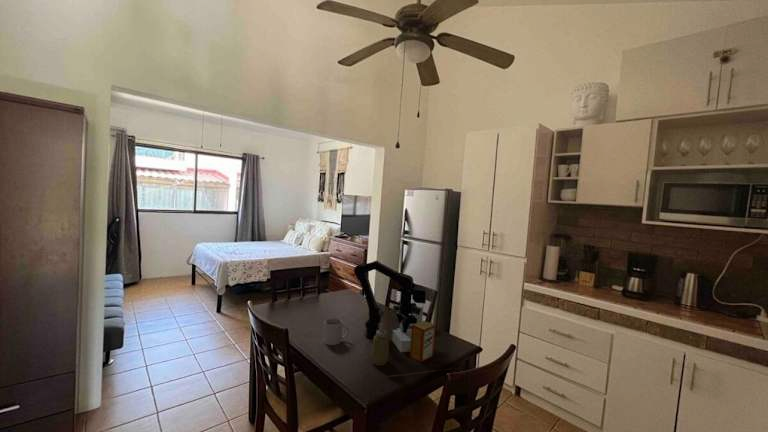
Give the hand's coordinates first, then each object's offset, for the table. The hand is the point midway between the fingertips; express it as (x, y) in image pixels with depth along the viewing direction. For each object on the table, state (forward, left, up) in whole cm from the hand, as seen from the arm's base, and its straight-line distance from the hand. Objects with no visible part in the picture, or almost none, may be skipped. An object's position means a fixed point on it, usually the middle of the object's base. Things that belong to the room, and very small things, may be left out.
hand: (403, 330), depth 159 cm
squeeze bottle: (-18, -17, -7) cm, 26 cm away
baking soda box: (+3, -16, -7) cm, 17 cm away
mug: (-34, +7, -7) cm, 35 cm away
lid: (0, -4, -1) cm, 4 cm away
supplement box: (+16, +19, -7) cm, 26 cm away
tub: (0, -5, -6) cm, 8 cm away
